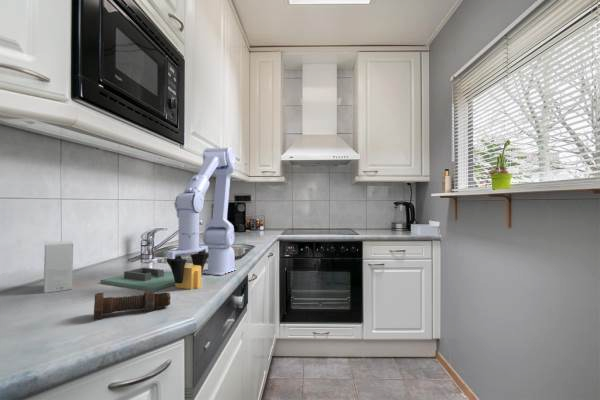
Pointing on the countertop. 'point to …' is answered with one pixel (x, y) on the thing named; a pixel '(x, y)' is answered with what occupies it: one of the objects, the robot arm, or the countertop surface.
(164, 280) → the board
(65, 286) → the small box
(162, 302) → the bolt
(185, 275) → the yellow arched block
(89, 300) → the countertop surface
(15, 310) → the countertop surface
